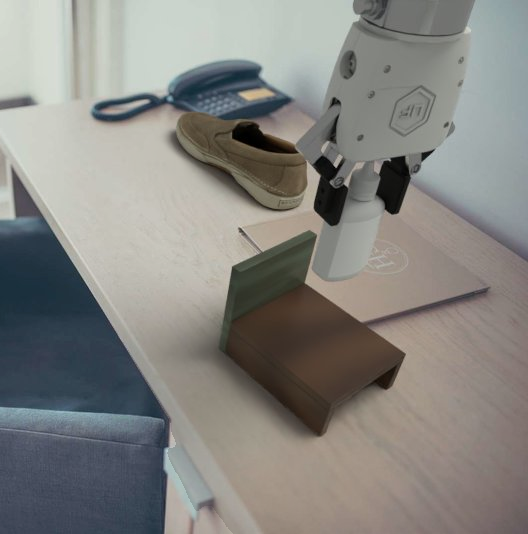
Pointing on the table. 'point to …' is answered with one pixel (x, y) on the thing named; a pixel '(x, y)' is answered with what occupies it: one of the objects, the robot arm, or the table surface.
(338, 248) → the eye dropper bottle
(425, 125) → the robot arm
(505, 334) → the table surface
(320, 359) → the shelf
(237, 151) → the slip on shoe
